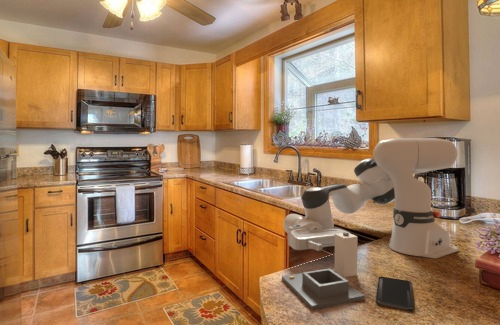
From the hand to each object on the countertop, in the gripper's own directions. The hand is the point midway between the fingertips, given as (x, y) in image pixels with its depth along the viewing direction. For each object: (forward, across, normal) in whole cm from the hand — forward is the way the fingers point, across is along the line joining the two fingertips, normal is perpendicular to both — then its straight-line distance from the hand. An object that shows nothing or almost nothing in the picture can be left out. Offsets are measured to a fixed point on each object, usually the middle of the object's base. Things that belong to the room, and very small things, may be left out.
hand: (334, 246), depth 88 cm
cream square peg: (+5, -1, -6) cm, 8 cm away
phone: (+19, -5, -7) cm, 21 cm away
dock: (+11, +11, -6) cm, 17 cm away
